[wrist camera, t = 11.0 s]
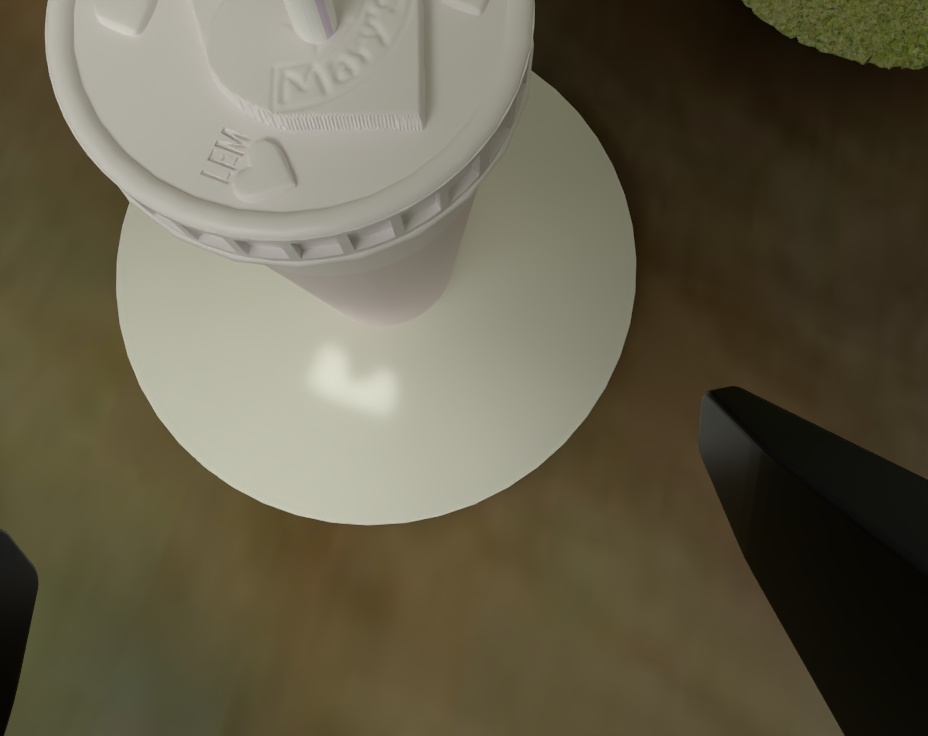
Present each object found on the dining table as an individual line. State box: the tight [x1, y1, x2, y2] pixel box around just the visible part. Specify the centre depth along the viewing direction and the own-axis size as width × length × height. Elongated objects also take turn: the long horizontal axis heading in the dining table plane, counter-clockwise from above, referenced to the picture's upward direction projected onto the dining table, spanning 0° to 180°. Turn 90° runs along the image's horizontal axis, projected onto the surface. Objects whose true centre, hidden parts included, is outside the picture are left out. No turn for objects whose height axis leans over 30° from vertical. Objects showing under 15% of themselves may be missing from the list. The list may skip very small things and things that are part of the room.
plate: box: [116, 71, 636, 525], centre depth 18 cm, size 14×14×1 cm
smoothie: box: [45, 0, 535, 326], centre depth 11 cm, size 6×6×14 cm
